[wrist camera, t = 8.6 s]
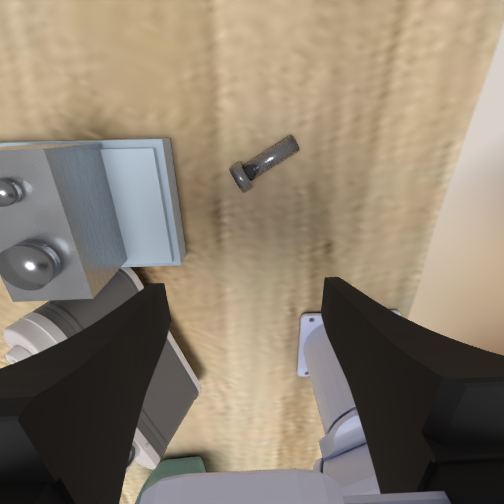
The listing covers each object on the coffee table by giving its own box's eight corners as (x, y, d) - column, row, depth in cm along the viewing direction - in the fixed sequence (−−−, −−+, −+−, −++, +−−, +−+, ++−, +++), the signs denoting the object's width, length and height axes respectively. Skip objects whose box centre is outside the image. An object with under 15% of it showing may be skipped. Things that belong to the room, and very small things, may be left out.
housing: (98, 143, 16) (26, 150, 11) (127, 259, 20) (83, 309, 14) (24, 144, 16) (-86, 153, 11) (65, 261, 20) (-2, 312, 14)
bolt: (287, 129, 19) (291, 128, 17) (300, 155, 19) (306, 157, 18) (229, 166, 20) (228, 170, 18) (244, 189, 20) (244, 195, 18)
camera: (137, 254, 21) (-18, 359, 13) (214, 391, 27) (142, 524, 19) (73, 265, 25) (-73, 349, 17) (151, 381, 31) (71, 484, 23)
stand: (169, 138, 19) (159, 139, 16) (186, 254, 22) (179, 268, 20) (-5, 142, 18) (-40, 144, 16) (41, 258, 22) (18, 273, 20)
